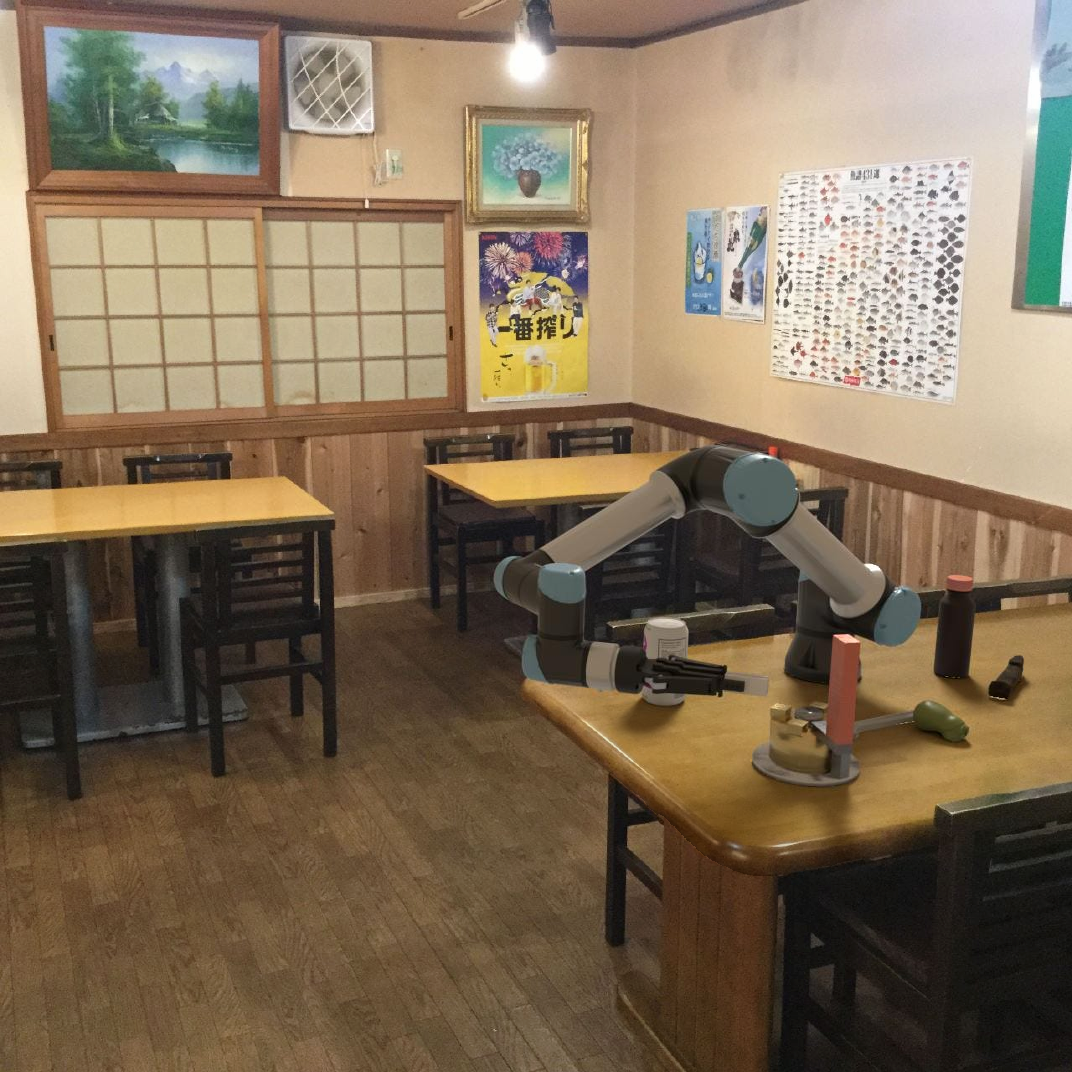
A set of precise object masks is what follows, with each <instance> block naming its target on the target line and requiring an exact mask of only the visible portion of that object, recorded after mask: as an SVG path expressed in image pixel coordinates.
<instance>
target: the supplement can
mask: <svg viewBox="0 0 1072 1072" xmlns="http://www.w3.org/2000/svg"><path fill="white" fill-rule="evenodd" d="M688 647H689V629H688V627H687V625H686V622H685V621H684V620H682V619H679V618H677V617H676V618H675V617H667V616H665V617H664V616H662V617H661V616H659V617H652V618H650V619H648V620H647V623H646V625H645V627H644V630H643V648H644V649H645V651H646V656H647V658H648V659H656V658H666V659H668V657H669V655H675V656H678V657H681V658H685V659H688V653H689V652H688V649H689V648H688ZM686 696H687V694H672V693H664V694H653V693H652V687H648V686H643V689H642V691H641V697H642V698H643V699H644V700H645V701H646V702H647V703H649V704H652V705H655V706H662V707H663V706H664V707H671V706H676V705H679V704H681V703H682V702H683V701H684V700H686Z"/></svg>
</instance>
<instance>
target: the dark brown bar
mask: <svg viewBox="0 0 1072 1072" xmlns="http://www.w3.org/2000/svg"><path fill="white" fill-rule="evenodd" d="M1024 663H1025V659H1024V656H1023V655H1014V656H1013V657H1012V658H1010V659H1009V660H1008V664H1007V666H1006V667H1005V669H1004V670H1003V671H1001V673H1000V675H998V676H997V678H996V679H995V680H991V682H990V683H989V685H988V692H987V694H988V696H989V697H990V696H993V697H999V698H1005V699H1007V700H1008V699H1009V698H1010V695H1011V692H1012V691H1013V690H1014V688H1015V687H1016V685H1017V684H1018V683H1019V682H1018V681H1019V680H1022V678H1021V677H1023V672H1024Z"/></svg>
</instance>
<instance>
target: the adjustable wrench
mask: <svg viewBox="0 0 1072 1072" xmlns="http://www.w3.org/2000/svg"><path fill="white" fill-rule="evenodd" d="M913 712H914V709H912V710H907V711H900V712H897V713H892V714H886V715H881V716H877V717H871V718H866V719H862V720H857V721H855V720H854V731H853V740H855V741H856V740H857V738H858V739H859V737H860V734H861V733H863V732H869V731H873V730H874V731H875V730H879V728H880V729H883V728H882V727H885V728H890V727H894V726H893V725H895V726H897V725H896V724H900V723H905V722H911V723H913V722H912V721H914V720H913ZM889 726H890V727H889Z"/></svg>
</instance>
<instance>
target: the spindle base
mask: <svg viewBox="0 0 1072 1072" xmlns="http://www.w3.org/2000/svg"><path fill="white" fill-rule="evenodd" d="M794 710H795V719H800V720H804V721H808V722H809V724H808V726H811V722H815V721H823V712H822V711H821V710H819V709H817V708H813V707H809V706H799V707H796V708H795V709H794ZM768 751H769V741H768V742H764V743H762V744H760V745H757V747H756V748H754V750H753V752H752V761H751V762H752V764H754V765H753V767H754V768H755V769H756V768H757V769H758V770H759V772H760V771H761V772H762V773H761V772H760V773H761V774H763V775H764V774H766V775H768V776H769V777H768V776H767V777H768V778H770V777H772V778H771V779H773V778H774V779H773V780H775V779H778V780H780V781H779V782H781V781H782V783H785V782H786V783H785V784H789V785H794V784H798V785H797V786H799V785H806V786H805V787H808V786H817V787H816V788H822V787H821V786H831V787H836V786H835V785H838V786H841V785H840V784H843V785H845V784H848V783H850V781H851V782H852V780H853V779H854V780H855V779H857V778H858V776H859V775H860V766H861V765H860V761H859V760H858V759H857V757H856V756H855V755H854V754H853V753H851V754H840V755H836V754H835V753H834V752H833V751H832V760H831V771H829V772H822V773H810V772H801V771H795V770H791V769H788V768H785V767H782V766H780V765H778V764H776V763H774V762H773V761H772V760H771V759H770V758H769V755H768ZM757 769H756V770H757ZM758 770H757V771H758ZM858 774H859V775H858ZM766 775H765V776H766ZM778 780H777V781H778ZM854 780H853V781H854ZM819 786H820V787H819Z"/></svg>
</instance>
